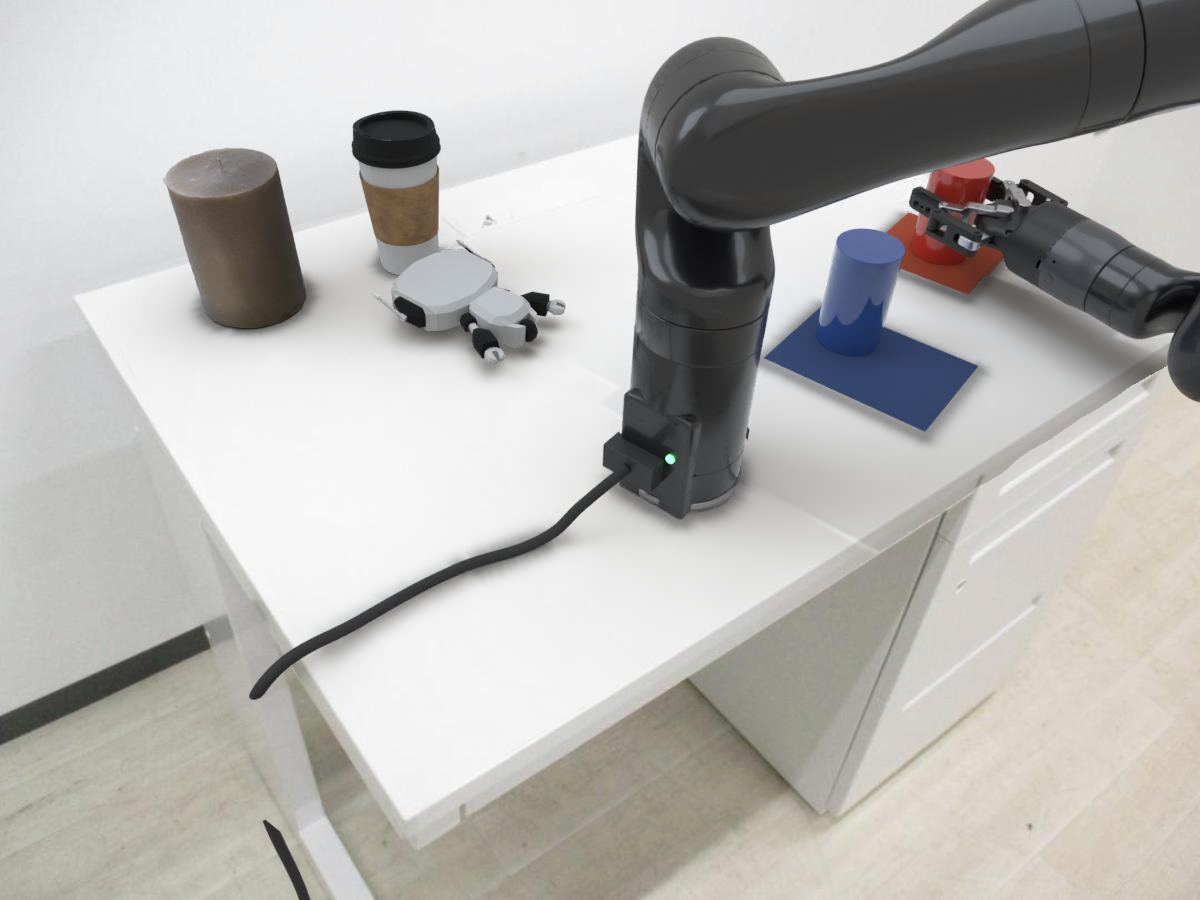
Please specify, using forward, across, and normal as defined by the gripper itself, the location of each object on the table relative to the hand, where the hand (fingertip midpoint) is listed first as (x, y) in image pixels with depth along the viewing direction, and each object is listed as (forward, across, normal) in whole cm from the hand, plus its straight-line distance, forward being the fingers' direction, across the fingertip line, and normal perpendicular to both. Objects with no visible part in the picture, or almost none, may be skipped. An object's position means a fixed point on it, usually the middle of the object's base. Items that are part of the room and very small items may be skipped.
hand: (941, 186), depth 99 cm
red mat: (-2, 0, +8) cm, 8 cm away
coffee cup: (+25, +50, +8) cm, 56 cm away
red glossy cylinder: (-2, 0, +7) cm, 7 cm away
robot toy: (+11, +49, +8) cm, 51 cm away
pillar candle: (+25, +66, +8) cm, 71 cm away
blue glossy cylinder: (-9, +20, +7) cm, 23 cm away
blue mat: (-13, +20, +8) cm, 25 cm away
